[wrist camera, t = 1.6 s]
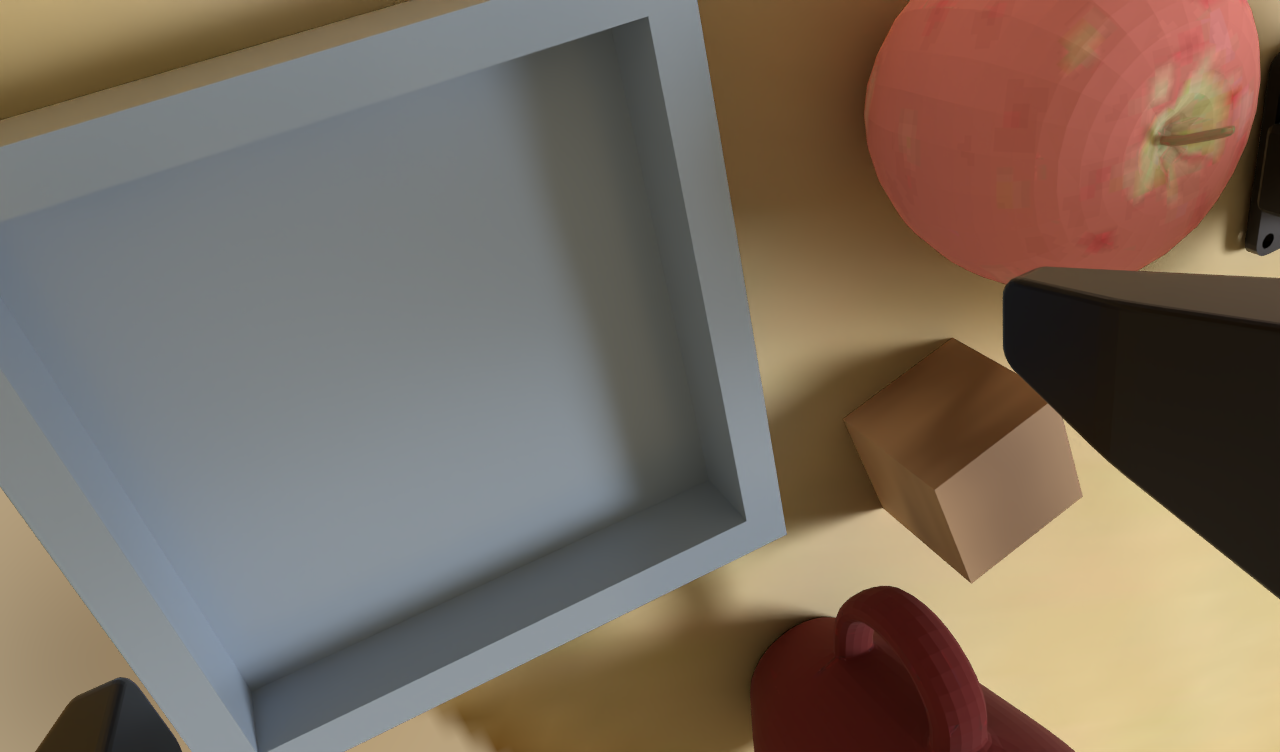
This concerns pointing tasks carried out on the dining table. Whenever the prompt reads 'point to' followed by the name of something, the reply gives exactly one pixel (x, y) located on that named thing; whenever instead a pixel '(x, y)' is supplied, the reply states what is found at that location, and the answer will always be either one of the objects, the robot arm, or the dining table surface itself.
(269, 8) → the dining table surface
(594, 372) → the dish
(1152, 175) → the apple
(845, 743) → the mug
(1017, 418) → the walnut block
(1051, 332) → the robot arm
